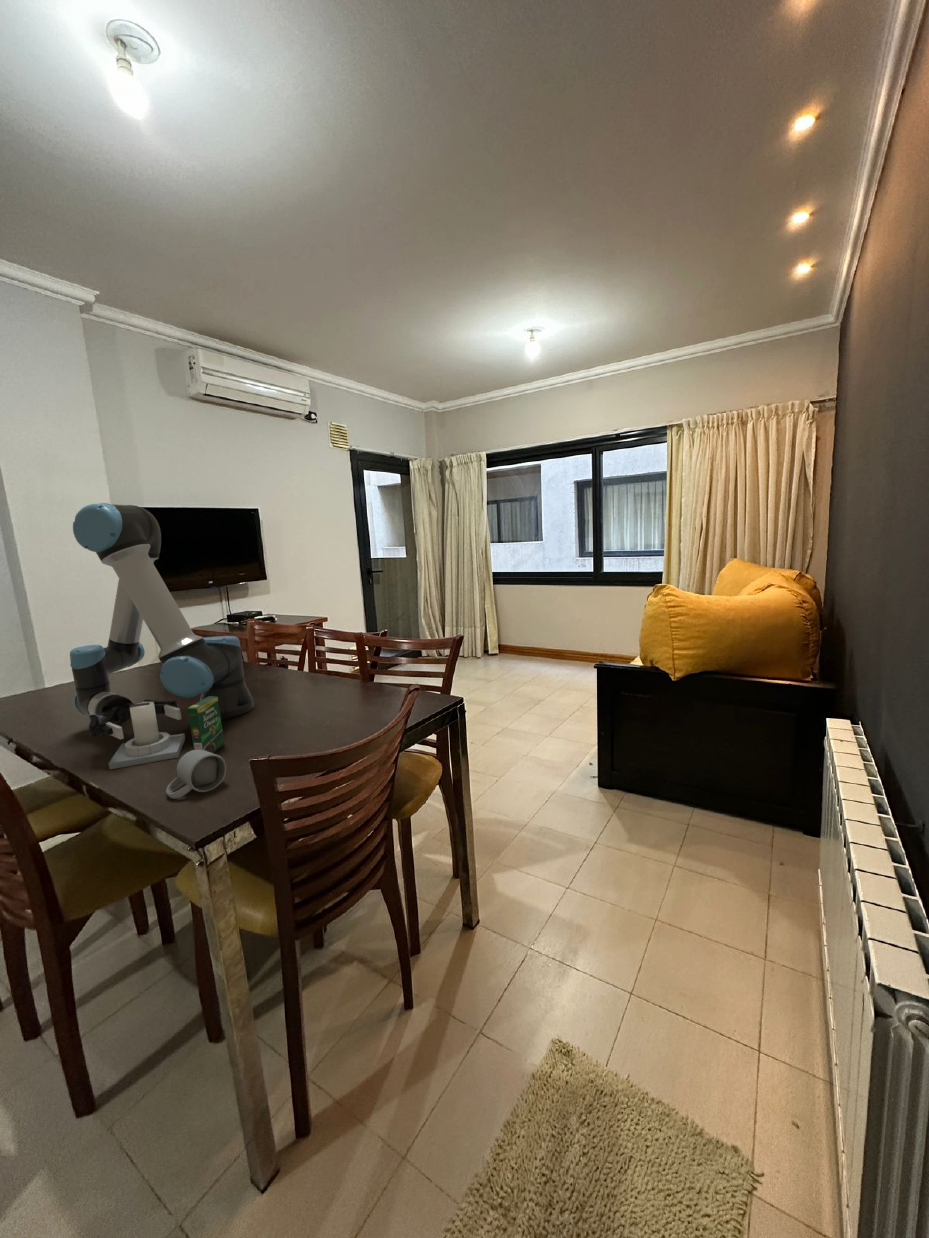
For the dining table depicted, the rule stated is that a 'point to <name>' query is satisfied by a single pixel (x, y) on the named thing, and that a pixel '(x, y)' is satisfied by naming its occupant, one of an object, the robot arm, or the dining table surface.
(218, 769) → the ceramic mug
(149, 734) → the grey cylindrical peg
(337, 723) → the dining table surface
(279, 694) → the dining table surface
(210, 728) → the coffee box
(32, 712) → the dining table surface
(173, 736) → the hub
